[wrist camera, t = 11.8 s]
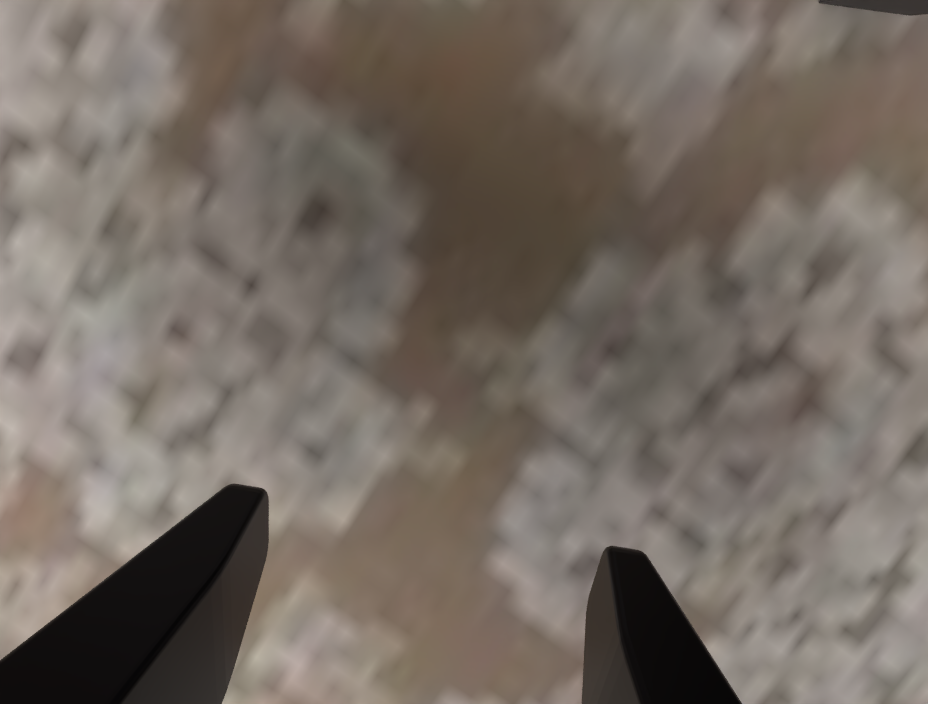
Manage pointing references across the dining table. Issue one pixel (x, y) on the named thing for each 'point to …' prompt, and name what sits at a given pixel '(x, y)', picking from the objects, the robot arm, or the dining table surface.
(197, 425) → the dining table surface
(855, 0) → the dark gray rectangular block
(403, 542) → the dining table surface
